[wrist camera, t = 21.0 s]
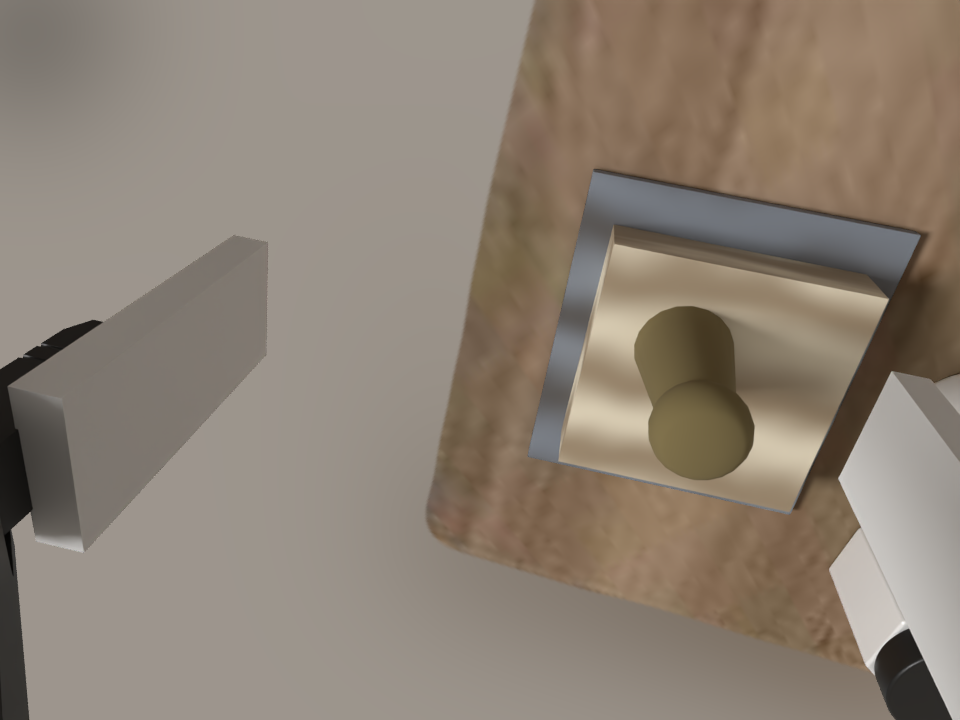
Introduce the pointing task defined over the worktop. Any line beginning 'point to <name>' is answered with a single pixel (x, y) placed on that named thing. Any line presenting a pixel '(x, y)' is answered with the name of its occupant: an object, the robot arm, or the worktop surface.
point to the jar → (885, 635)
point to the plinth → (712, 228)
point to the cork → (693, 393)
